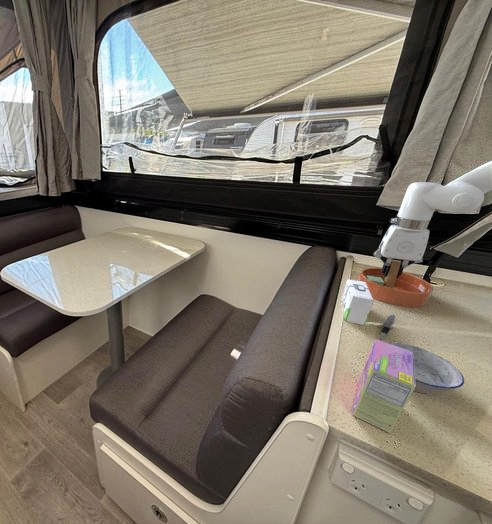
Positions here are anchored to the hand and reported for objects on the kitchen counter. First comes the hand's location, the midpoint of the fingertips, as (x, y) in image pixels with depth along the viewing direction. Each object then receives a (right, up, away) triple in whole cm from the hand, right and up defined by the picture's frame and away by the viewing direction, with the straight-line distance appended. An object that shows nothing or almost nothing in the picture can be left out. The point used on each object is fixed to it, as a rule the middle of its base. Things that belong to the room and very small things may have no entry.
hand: (389, 275), depth 91 cm
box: (-39, -24, -38) cm, 60 cm away
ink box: (-24, -9, -16) cm, 30 cm away
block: (-5, -5, +2) cm, 7 cm away
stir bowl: (0, -6, 0) cm, 6 cm away
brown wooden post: (-1, -5, 0) cm, 5 cm away
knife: (-16, -14, -16) cm, 26 cm away
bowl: (-25, -21, -32) cm, 46 cm away
